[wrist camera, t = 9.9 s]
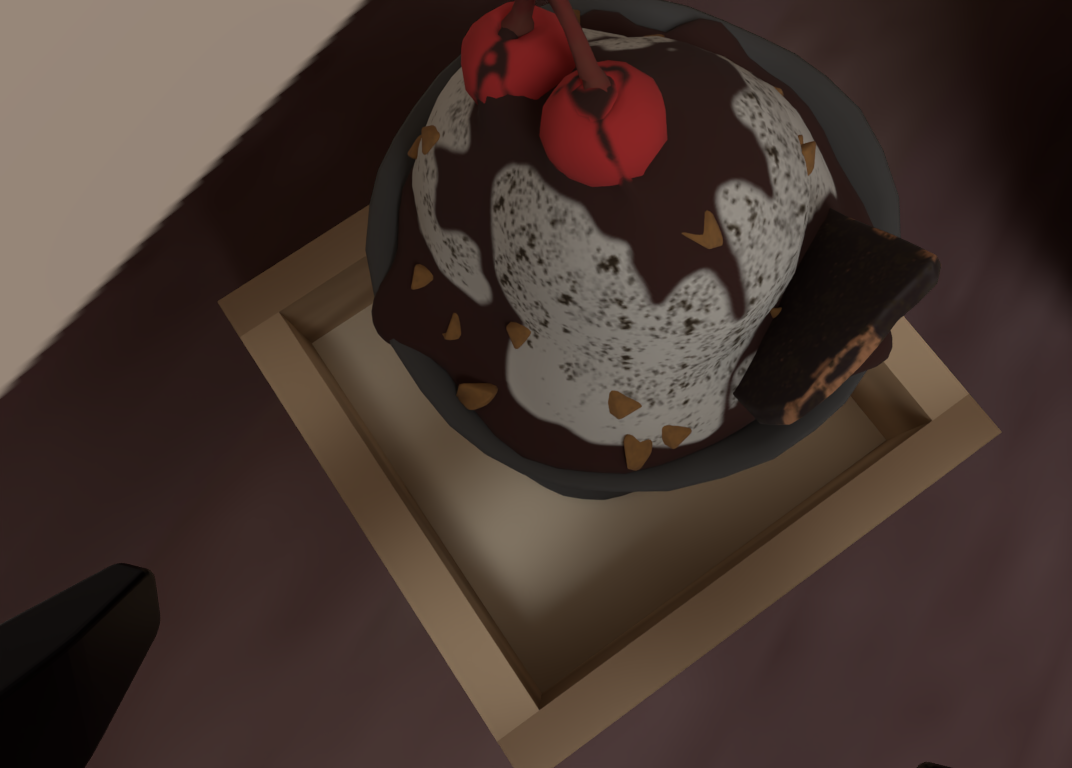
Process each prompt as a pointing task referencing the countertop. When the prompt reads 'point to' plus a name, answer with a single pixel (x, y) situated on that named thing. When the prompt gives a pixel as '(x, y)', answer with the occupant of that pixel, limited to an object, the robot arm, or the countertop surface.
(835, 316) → the sundae
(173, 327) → the countertop surface
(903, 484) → the cream square tray
